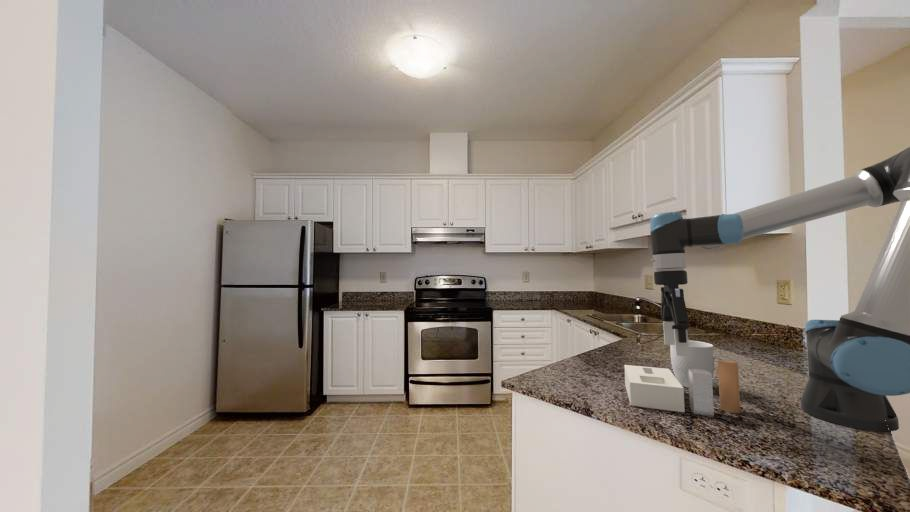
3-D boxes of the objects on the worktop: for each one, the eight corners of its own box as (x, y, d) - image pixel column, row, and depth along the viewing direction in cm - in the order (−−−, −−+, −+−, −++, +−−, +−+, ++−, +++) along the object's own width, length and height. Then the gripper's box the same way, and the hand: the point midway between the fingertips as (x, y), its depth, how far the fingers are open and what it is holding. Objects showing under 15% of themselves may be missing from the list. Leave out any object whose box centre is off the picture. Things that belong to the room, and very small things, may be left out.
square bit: (708, 410, 84) (706, 370, 85) (713, 416, 81) (711, 374, 81) (689, 407, 86) (688, 368, 86) (694, 413, 82) (692, 372, 83)
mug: (734, 389, 99) (732, 344, 100) (729, 399, 91) (727, 351, 92) (676, 378, 110) (674, 338, 110) (667, 386, 102) (665, 343, 103)
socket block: (669, 389, 100) (668, 368, 100) (684, 412, 83) (683, 388, 83) (625, 384, 104) (624, 364, 105) (630, 405, 88) (629, 382, 88)
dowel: (736, 408, 85) (734, 360, 86) (743, 414, 82) (740, 364, 82) (717, 405, 87) (715, 359, 88) (723, 411, 83) (720, 363, 84)
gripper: (646, 271, 103) (651, 340, 101) (662, 270, 80) (670, 360, 78) (675, 269, 100) (680, 341, 98) (700, 268, 77) (708, 362, 75)
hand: (676, 349), depth 88 cm, fingers open, 13 cm apart
